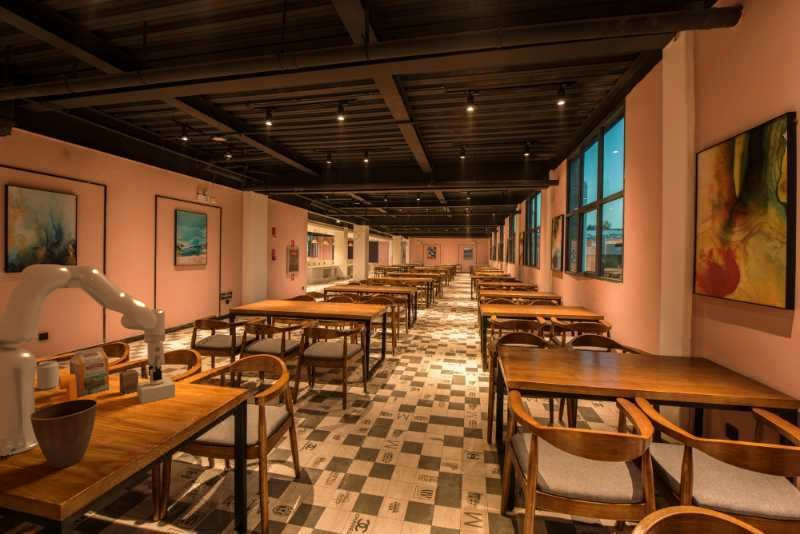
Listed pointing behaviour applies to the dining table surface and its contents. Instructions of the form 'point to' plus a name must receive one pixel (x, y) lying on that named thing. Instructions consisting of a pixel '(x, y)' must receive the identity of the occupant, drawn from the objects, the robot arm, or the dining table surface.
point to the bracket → (70, 386)
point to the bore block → (155, 391)
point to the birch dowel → (152, 383)
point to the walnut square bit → (128, 381)
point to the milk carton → (90, 371)
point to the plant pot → (64, 430)
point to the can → (47, 375)
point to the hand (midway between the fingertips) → (155, 377)
